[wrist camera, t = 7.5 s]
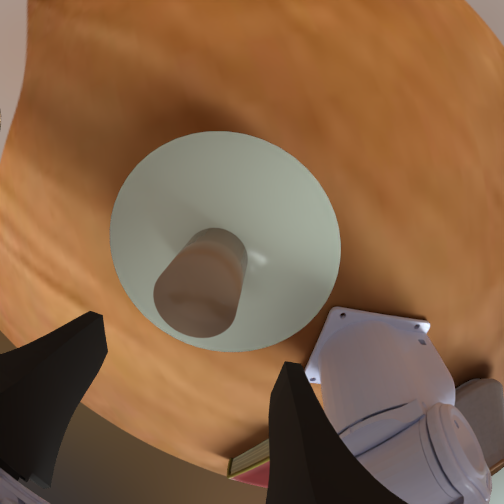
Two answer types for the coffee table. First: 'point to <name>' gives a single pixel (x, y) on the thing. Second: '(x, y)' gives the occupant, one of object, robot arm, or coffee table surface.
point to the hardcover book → (251, 466)
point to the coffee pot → (484, 417)
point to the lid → (225, 241)
